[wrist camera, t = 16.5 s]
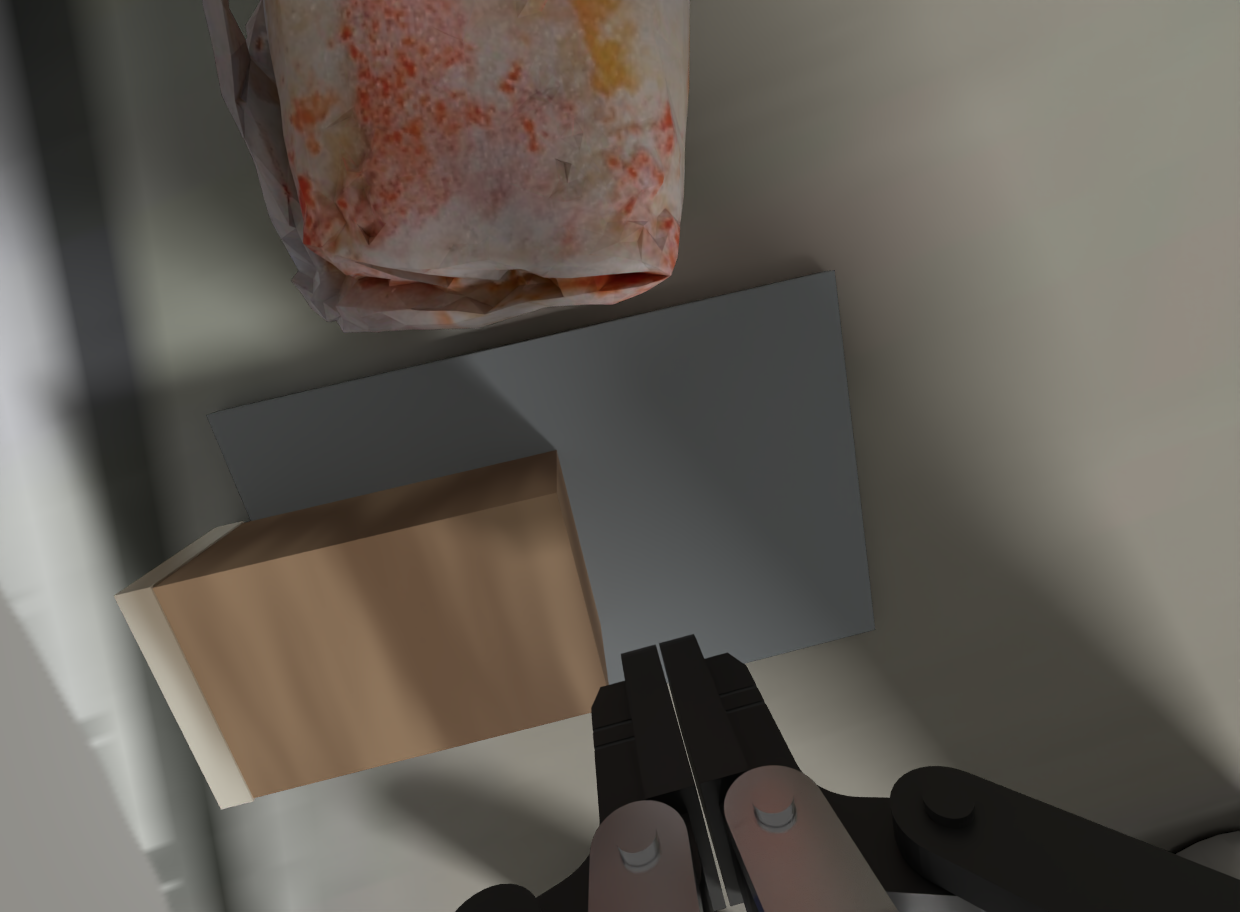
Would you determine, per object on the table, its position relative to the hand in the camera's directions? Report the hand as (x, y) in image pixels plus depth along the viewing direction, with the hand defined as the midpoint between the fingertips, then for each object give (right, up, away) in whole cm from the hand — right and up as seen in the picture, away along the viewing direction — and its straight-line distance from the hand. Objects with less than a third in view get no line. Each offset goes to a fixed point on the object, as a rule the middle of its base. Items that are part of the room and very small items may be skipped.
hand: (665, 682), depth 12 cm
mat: (-2, +2, +7) cm, 8 cm away
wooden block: (-2, +1, +5) cm, 5 cm away
